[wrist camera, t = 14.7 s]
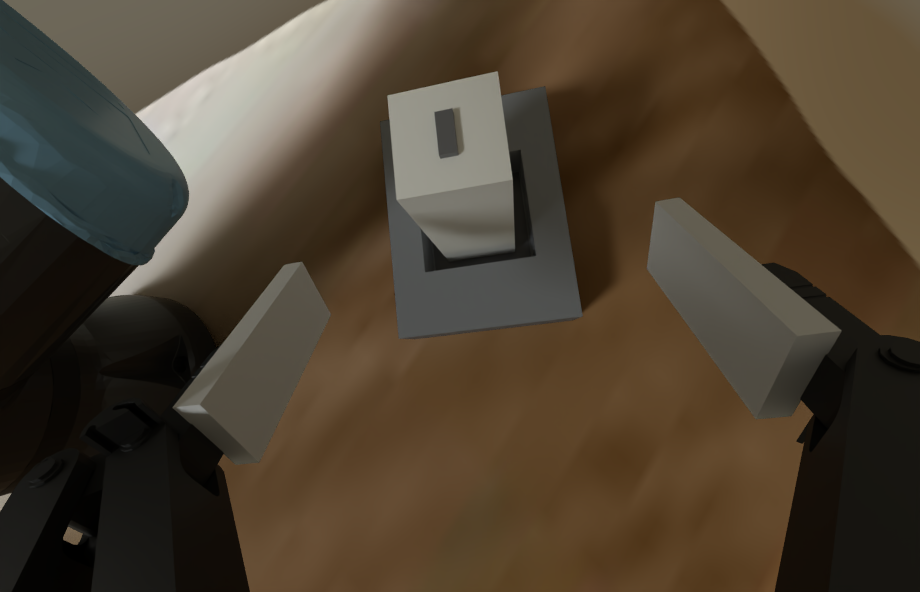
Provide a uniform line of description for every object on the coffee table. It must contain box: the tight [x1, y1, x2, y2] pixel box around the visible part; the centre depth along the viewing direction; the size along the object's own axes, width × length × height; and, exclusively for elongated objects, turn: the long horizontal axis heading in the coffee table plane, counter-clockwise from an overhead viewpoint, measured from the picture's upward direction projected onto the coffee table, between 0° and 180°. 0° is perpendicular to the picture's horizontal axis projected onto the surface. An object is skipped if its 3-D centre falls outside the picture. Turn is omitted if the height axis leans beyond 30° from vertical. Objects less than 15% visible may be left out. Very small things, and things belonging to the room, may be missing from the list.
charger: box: [387, 71, 515, 261], centre depth 21 cm, size 5×5×12 cm
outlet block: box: [380, 86, 583, 339], centre depth 26 cm, size 16×12×4 cm
